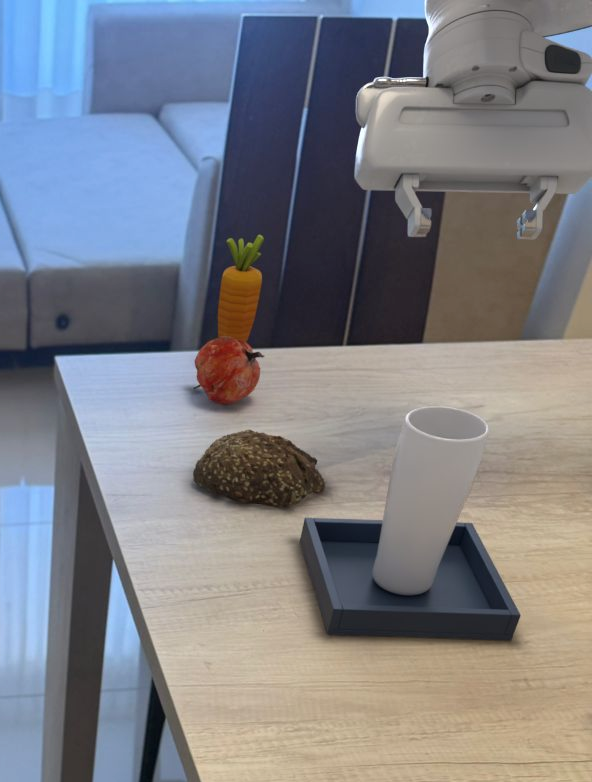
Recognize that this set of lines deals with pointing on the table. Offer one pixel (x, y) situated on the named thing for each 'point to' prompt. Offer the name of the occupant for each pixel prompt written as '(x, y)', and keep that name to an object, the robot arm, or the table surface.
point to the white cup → (426, 495)
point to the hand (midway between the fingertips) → (474, 234)
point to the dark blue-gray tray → (401, 612)
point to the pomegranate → (227, 369)
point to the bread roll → (258, 470)
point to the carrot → (240, 291)
